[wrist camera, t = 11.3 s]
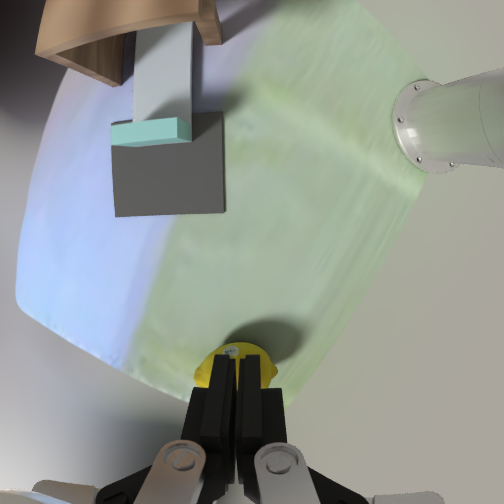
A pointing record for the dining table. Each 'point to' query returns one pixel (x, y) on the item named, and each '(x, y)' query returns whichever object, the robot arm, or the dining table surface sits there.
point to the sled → (160, 88)
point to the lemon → (236, 352)
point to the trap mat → (171, 173)
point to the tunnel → (113, 30)
